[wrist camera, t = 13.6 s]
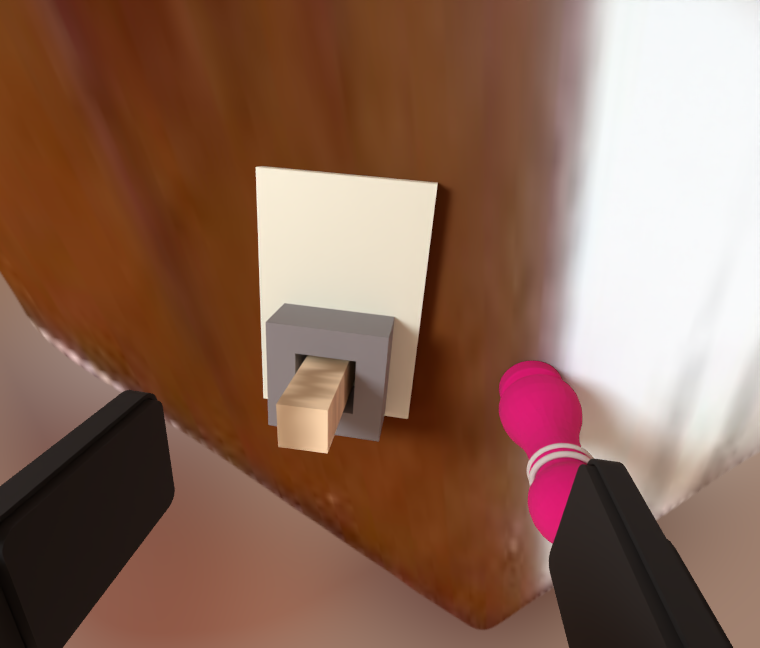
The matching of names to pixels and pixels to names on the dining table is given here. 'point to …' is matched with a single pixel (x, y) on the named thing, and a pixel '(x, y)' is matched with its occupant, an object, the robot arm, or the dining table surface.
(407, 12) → the dining table surface
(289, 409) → the square wooden peg
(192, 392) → the dining table surface
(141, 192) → the dining table surface
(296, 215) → the board
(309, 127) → the dining table surface
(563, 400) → the pink bowling pin
